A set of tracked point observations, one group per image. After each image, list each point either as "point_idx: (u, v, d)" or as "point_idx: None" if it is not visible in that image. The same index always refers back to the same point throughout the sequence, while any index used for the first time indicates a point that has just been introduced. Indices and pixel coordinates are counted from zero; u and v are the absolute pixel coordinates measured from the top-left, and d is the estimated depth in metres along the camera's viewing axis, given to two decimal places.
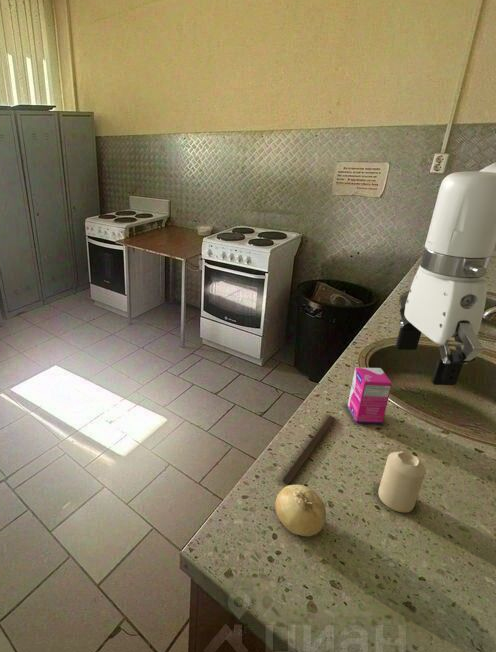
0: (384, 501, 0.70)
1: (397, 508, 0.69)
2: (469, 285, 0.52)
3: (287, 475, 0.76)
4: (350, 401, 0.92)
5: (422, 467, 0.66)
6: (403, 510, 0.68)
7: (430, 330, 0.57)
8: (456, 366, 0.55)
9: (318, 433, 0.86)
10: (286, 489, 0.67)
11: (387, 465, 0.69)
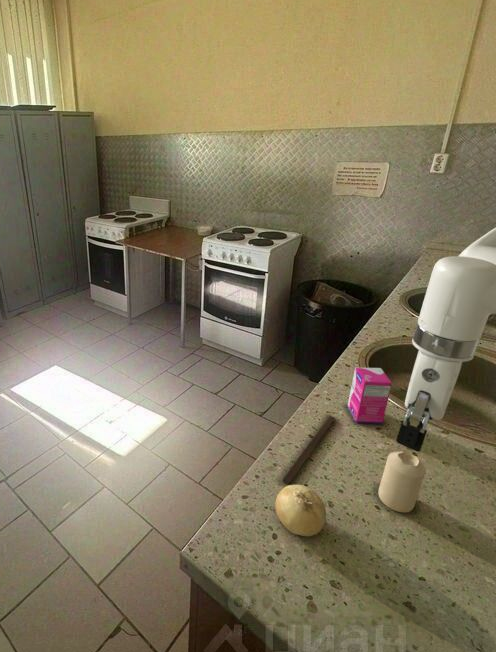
0: (384, 501, 0.70)
1: (397, 508, 0.69)
2: (432, 360, 0.56)
3: (287, 475, 0.76)
4: (350, 401, 0.92)
5: (422, 467, 0.66)
6: (403, 510, 0.68)
7: None
8: (414, 432, 0.60)
9: (318, 433, 0.86)
10: (286, 489, 0.67)
11: (387, 465, 0.69)
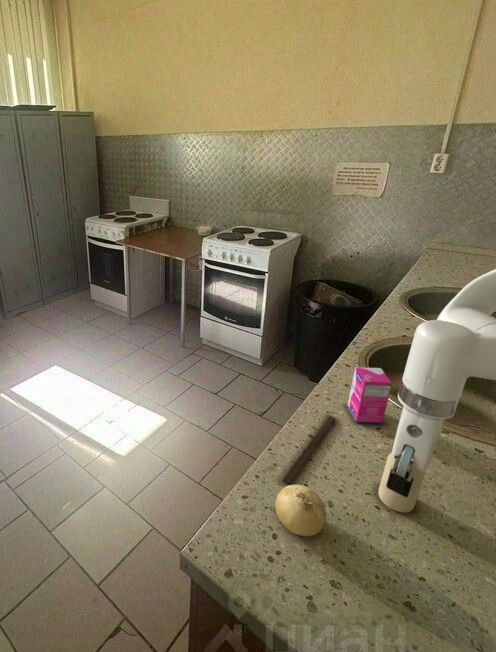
0: (384, 501, 0.70)
1: (397, 508, 0.69)
2: (416, 417, 0.60)
3: (287, 475, 0.76)
4: (350, 401, 0.92)
5: None
6: (403, 510, 0.68)
7: None
8: (402, 480, 0.65)
9: (318, 433, 0.86)
10: (286, 489, 0.67)
11: (387, 465, 0.69)
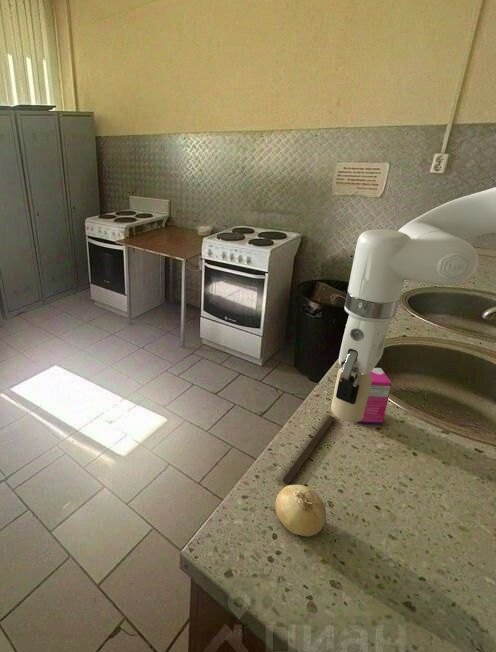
0: (335, 413, 0.74)
1: (347, 418, 0.72)
2: (358, 321, 0.64)
3: (287, 475, 0.76)
4: None
5: (368, 376, 0.70)
6: (352, 419, 0.72)
7: None
8: (348, 386, 0.69)
9: (318, 433, 0.86)
10: (286, 489, 0.67)
11: (337, 377, 0.73)
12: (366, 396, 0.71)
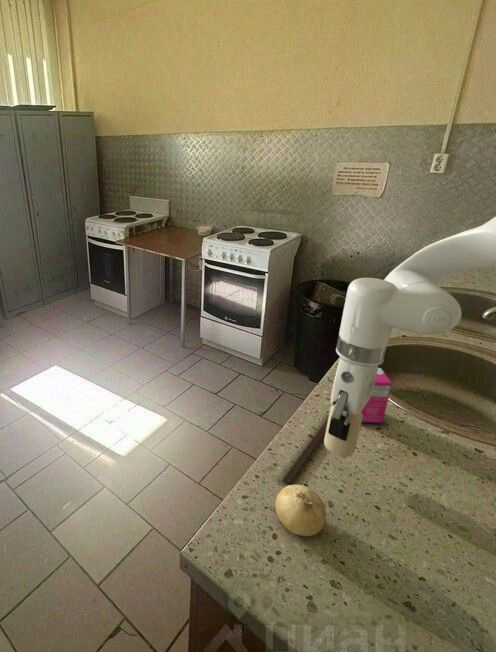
0: (327, 447, 0.77)
1: (339, 453, 0.76)
2: (348, 365, 0.67)
3: (287, 475, 0.76)
4: None
5: (359, 414, 0.73)
6: (344, 454, 0.75)
7: None
8: (340, 424, 0.72)
9: (318, 433, 0.86)
10: (286, 489, 0.67)
11: (329, 414, 0.76)
12: (357, 433, 0.74)
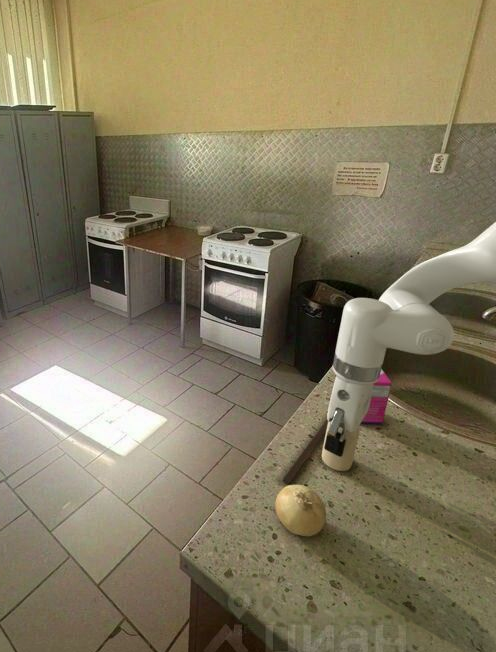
0: (325, 461, 0.79)
1: (336, 467, 0.77)
2: (344, 383, 0.69)
3: (287, 475, 0.76)
4: None
5: (356, 429, 0.75)
6: (341, 469, 0.77)
7: None
8: (335, 441, 0.73)
9: (318, 433, 0.86)
10: (286, 489, 0.67)
11: (327, 429, 0.77)
12: (354, 448, 0.75)
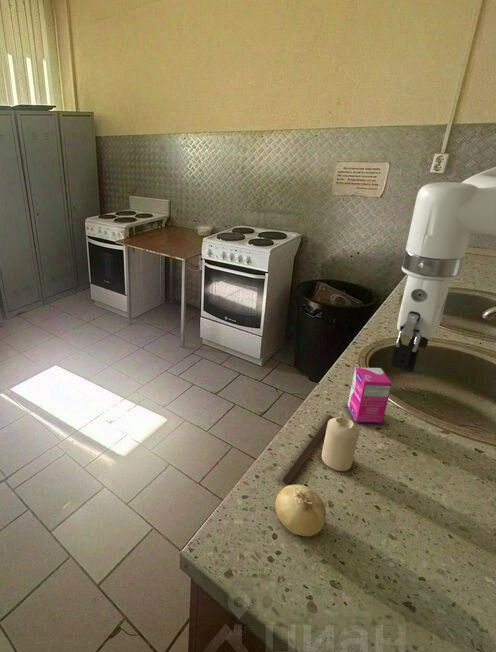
0: (325, 461, 0.79)
1: (336, 467, 0.77)
2: (420, 281, 0.60)
3: (287, 475, 0.76)
4: (350, 401, 0.92)
5: (356, 429, 0.75)
6: (341, 469, 0.77)
7: None
8: (406, 352, 0.63)
9: (318, 433, 0.86)
10: (286, 489, 0.67)
11: (327, 429, 0.77)
12: (354, 448, 0.75)
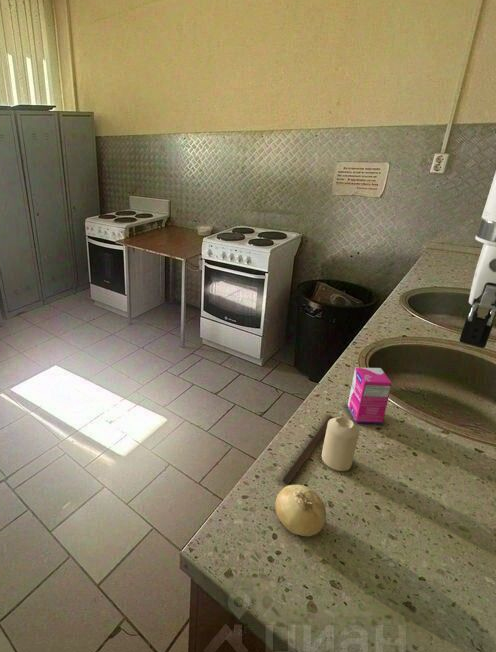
0: (325, 461, 0.79)
1: (336, 467, 0.77)
2: None
3: (287, 475, 0.76)
4: (350, 401, 0.92)
5: (356, 429, 0.75)
6: (341, 469, 0.77)
7: None
8: (480, 326, 0.60)
9: (318, 433, 0.86)
10: (286, 489, 0.67)
11: (327, 429, 0.77)
12: (354, 448, 0.75)
